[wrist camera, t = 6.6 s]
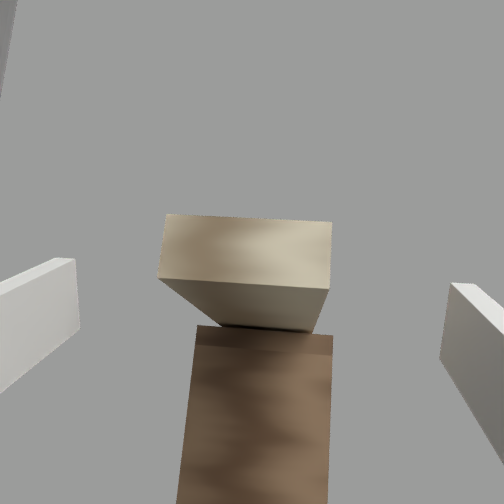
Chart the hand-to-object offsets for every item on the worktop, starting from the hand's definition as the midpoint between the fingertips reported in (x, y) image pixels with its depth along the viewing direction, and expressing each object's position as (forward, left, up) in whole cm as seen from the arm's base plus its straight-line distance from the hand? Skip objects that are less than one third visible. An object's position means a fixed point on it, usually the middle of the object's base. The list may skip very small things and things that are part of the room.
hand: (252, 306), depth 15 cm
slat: (0, +8, 0) cm, 8 cm away
